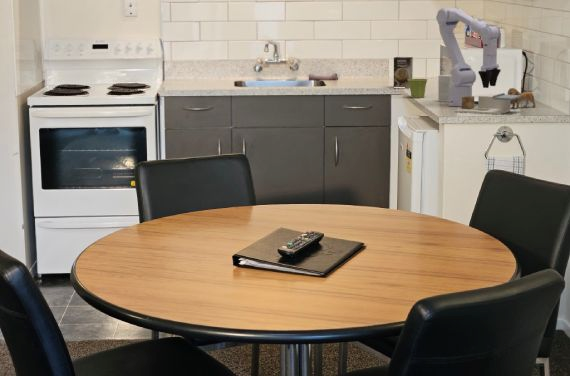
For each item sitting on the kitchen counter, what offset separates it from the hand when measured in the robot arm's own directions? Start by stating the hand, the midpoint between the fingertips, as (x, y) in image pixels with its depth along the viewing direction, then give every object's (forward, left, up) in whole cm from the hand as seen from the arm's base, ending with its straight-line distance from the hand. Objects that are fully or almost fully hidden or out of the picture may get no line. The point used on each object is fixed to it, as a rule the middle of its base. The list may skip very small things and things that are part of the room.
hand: (489, 86), depth 412 cm
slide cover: (+12, -9, -3) cm, 15 cm away
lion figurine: (+11, +8, -10) cm, 17 cm away
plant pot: (-47, +26, -10) cm, 55 cm away
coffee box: (-73, +61, -10) cm, 96 cm away
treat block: (-6, -10, -8) cm, 14 cm away
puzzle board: (+1, -10, -9) cm, 13 cm away
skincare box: (-28, +17, -10) cm, 34 cm away
